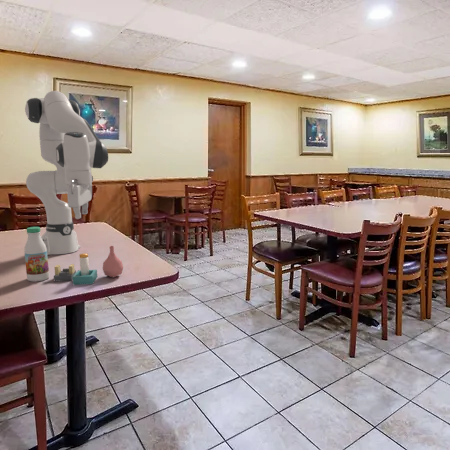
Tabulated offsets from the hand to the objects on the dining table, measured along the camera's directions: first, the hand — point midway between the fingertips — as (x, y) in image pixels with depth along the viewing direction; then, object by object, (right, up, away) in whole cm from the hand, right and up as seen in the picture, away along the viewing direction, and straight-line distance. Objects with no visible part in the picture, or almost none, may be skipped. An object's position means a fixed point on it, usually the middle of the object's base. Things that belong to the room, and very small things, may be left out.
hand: (81, 216), depth 143 cm
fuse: (0, -23, +3) cm, 24 cm away
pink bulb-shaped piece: (+9, -23, +8) cm, 26 cm away
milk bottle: (-19, -24, +6) cm, 31 cm away
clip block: (-9, -24, +7) cm, 26 cm away
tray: (0, -24, +3) cm, 24 cm away
